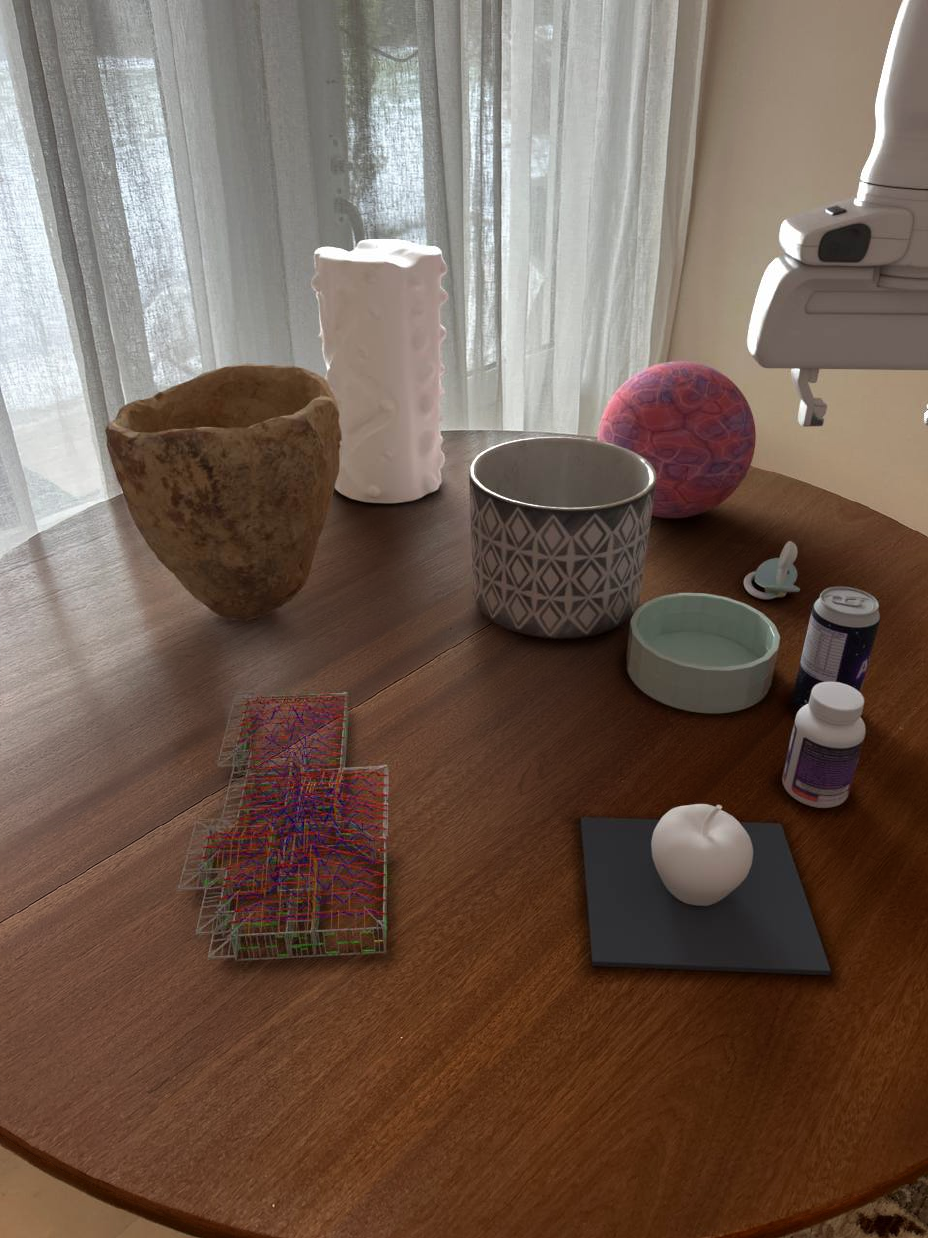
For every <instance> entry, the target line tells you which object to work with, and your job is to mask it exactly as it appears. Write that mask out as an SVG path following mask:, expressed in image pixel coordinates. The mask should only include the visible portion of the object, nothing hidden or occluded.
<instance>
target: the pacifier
mask: <svg viewBox="0 0 928 1238" xmlns="http://www.w3.org/2000/svg"><path fill="white" fill-rule="evenodd" d="M797 556H798V546H797V545H796V543H795V542H794V541H791V540H788V541H787V542H786V543H785V544H784V547H783V548H782V550H781V552H780V555H779V557H774V558H770V559H766V560H765V561H763V562H762V563H761V564H760V565H758V567H757V568H756V570H755V571H752V572H749V573H748V574H747V575H745V577H744V579H743V586H744V589H745V590H746V592H747V593H748V594H749V595H751V596H753V597H754V598H756V599H760V600H773V599H775V598H784V597H785V596H786V595H787V594H788V593H799V592H800V590H801V588H800V587H798V586H797V585H794V584H795V583H796V581H797V580H798V579H797V578H798V571H797V568H796V566H795V565H794V562H795V561H796V560H797ZM753 581H754V582H755V583H756V584H757V586H759V587H762V588H764V591H760V590H758V589H757V588H755V587H754V585H753V584H752V583H753Z"/></svg>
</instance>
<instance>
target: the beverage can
mask: <svg viewBox="0 0 928 1238" xmlns="http://www.w3.org/2000/svg"><path fill="white" fill-rule="evenodd" d="M879 607H880V604H879V601H878V600H877V599H876V597H875V596H874V595H872V594H871V593H869V592H867V591H864V590H861V589H858V588H855V587H850V586H833V587H832V586H831V587H828V588H826V589H823V590H822V592H820V594H819V598H818V599H816V600H815V602H814V603H813V605H812V609H811V611H810V612H811V613H810V616H809V621H808V626H807V630H806V635H805V638H804V643H803V648H802V652H801V657H800V661H799V667H798V670H797V675H796V679H795V684H794V688H793V692H792V701H793V702H794V704H795V705H796V706H797V707H798V708H799V710H800V709H801V708H802V707H803V706H804V705H806V704H808V703H809V699H810V695H811V691H812V689H813V687H814V686H815V685H816V684H819V683H822V682H839V683H843V684H846V685H849V686H851V687H853V688H855V689H856V690H858V691H859V692H860V693H861V692H862V689H863V685H864V681H865V678H866V674H867V670H868V667H869V662H870V659H871V655H872V651H873V648H874V645H875V641H876V637H877V633H878V629H879V627H880V622H881V614H880V611H879Z"/></svg>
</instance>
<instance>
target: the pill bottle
mask: <svg viewBox="0 0 928 1238" xmlns="http://www.w3.org/2000/svg"><path fill="white" fill-rule="evenodd" d="M864 705H865V697H864V695H863V694H862V693H861V692H859V691H858V690H856V689H855V688H853V687H851V686H849V685H846V684H843V683H839V682H822V683H819V684H816V685H815V686H814V687H813V689H812V691H811V695H810V699H809V703H808V704H806V705H804V706H803V707H802V708H801V709H800V708H799V710H798V711H797V712H796V715H795V719H794V723H793V727H792V731H791V736H790V740H789V745H788V749H787V753H786V758H785V763H784V766H783V770H782V771H783V773H782V777H781V778H782V779H781V781H782V785H783V787H784V789H785V791H786V792H787V794H788V795H789V796H791V797H792V798H793V799H794V800H796V801H798V802H799V803H801V804H803V805H806V806H809V807H813V808H817V809H831V808H835V807H838V806H840V805H842V804H843V803H844V802H845V801H846V800H847V798H848V797H849V794H850V791H851V787H852V784H853V780H854V776H855V773H856V769H857V765H858V761H859V758H860V755H861V750H862V747H863V744H864V740H865V737H866V731H867V730H866V729H867V728H866V724H865V722H864V720H863V718H862V717H861V716H862V714H863V709H864Z"/></svg>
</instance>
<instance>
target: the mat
mask: <svg viewBox="0 0 928 1238" xmlns="http://www.w3.org/2000/svg"><path fill="white" fill-rule="evenodd" d="M659 821H660V819H653V818H651V819H650V818H626V817H625V818H620V817H593V816H592V817H591V816H590V817H589V816H581V817H580V828H581V830H580V831H581V841H582V853H583V866H584V879H585V880H584V881H585V890H586V892H585V893H586V904H587V916H588V928H589V941H590V943H589V944H590V955H591V966H593V967H607V968H610V967H611V968H633V969H635V968H636V969H657V970H658V969H660V970H681V971H682V970H683V971H684V970H687V971H711V972H712V971H713V972H735V973H737V972H738V973H740V972H741V973H760V974H785V975H787V974H788V975H812V976H830V975H831V973H832V970H831V967H830V964H829V961H828V957H827V955H826V952H825V949H824V946H823V944H822V940H821V937H820V934H819V931H818V928H817V925H816V922H815V919H814V917H813V913H812V911H811V908H810V905H809V902H808V899H807V896H806V893H805V890H804V887H803V883H802V881H801V878H800V875H799V872H798V869H797V866H796V863H795V860H794V858H793V855H792V851H791V848H790V846H789V843H788V840H787V837H786V834H785V831H784V828H783V825H782V823H775V822H748V821H747V822H744V821H738V822H739V823H740V824H741V825H742V827H743V828H744V829H745V830H746V832H747V834H748V835H749V837H750V839H751V843H752V847H753V859H752V865H751V868H750V870H749V873H748V875H747V877H746V878H745V879H744V881H743V882H742V883H741V884H740V885H739V886H738V887H737V888H735V889H734V890H733V891H732V892H731V893H729V894H728V895H727V896H726V897H725V898H723V899H722V900H720V901H718V902H716V903H714V904H712V905H708V906H698V905H691V904H687V903H684V902H682V901H680V900H679V899H677V898H676V897H675V896H674V895H673V894H671V893H670V892H669V890H668V889H667V888H666V886H665V885H664V883H663V881H662V879H661V877H660V875H659V873H658V871H657V869H656V867H655V864H654V860H653V857H652V847H651V842H652V836H653V832H654V830H655V828H656V826H657V824H658V822H659Z"/></svg>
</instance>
